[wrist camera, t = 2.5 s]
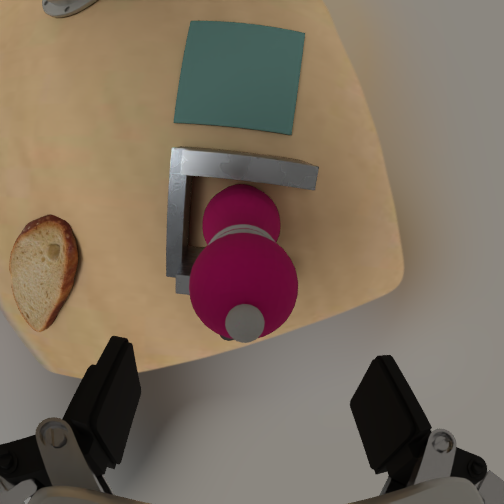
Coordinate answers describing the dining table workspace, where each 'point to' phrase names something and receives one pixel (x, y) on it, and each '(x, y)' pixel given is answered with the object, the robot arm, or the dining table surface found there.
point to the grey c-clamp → (219, 166)
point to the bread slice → (43, 269)
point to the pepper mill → (242, 267)
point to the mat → (240, 76)
